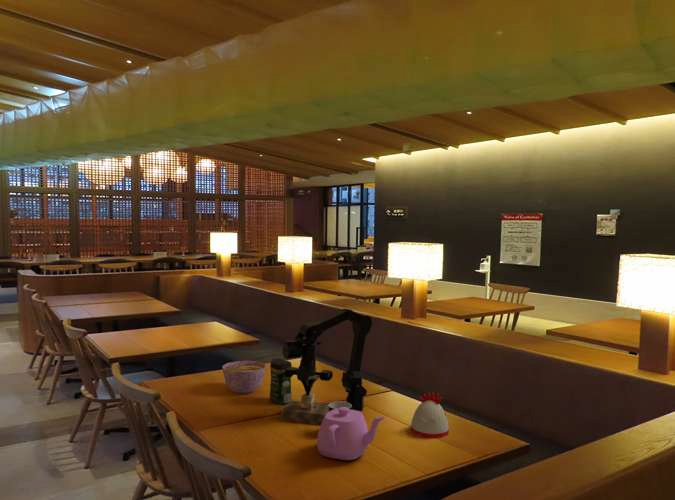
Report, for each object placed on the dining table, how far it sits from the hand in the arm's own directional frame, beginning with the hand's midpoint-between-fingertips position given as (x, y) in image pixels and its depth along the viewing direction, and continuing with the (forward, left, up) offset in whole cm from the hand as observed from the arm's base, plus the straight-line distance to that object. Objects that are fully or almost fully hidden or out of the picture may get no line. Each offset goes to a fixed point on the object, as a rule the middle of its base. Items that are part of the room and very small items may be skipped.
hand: (308, 395), depth 211 cm
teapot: (-22, +28, -9) cm, 37 cm away
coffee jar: (+17, -15, -9) cm, 25 cm away
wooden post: (0, 0, -9) cm, 9 cm away
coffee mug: (-17, +10, -9) cm, 22 cm away
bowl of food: (+38, -24, -9) cm, 46 cm away
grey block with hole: (0, 0, -9) cm, 9 cm away
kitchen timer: (-48, 0, -9) cm, 49 cm away
